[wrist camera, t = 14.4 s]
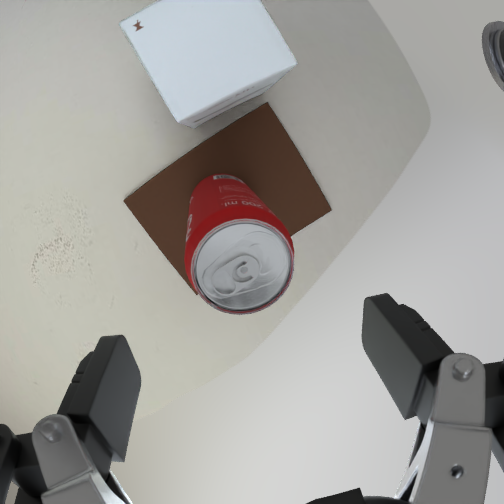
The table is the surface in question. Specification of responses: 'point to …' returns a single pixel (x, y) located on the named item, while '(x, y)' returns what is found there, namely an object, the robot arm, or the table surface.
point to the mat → (237, 164)
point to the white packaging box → (208, 54)
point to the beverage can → (236, 247)
